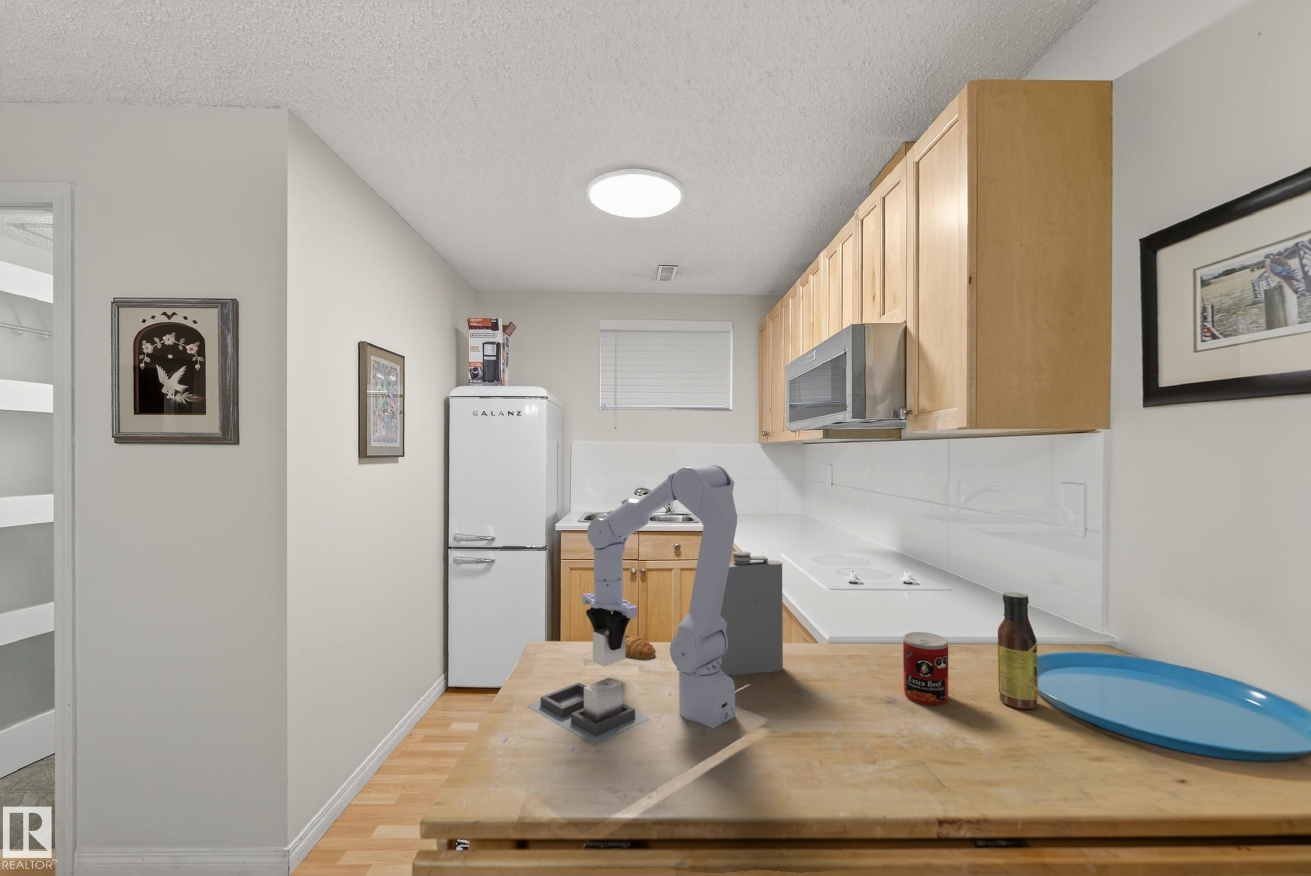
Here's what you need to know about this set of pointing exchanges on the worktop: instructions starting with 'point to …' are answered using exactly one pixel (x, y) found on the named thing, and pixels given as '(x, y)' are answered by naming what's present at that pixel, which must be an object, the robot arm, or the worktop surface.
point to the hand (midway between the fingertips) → (609, 646)
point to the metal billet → (606, 648)
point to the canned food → (925, 668)
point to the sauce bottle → (1017, 654)
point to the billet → (602, 700)
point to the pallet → (570, 715)
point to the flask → (753, 615)
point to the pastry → (638, 648)
